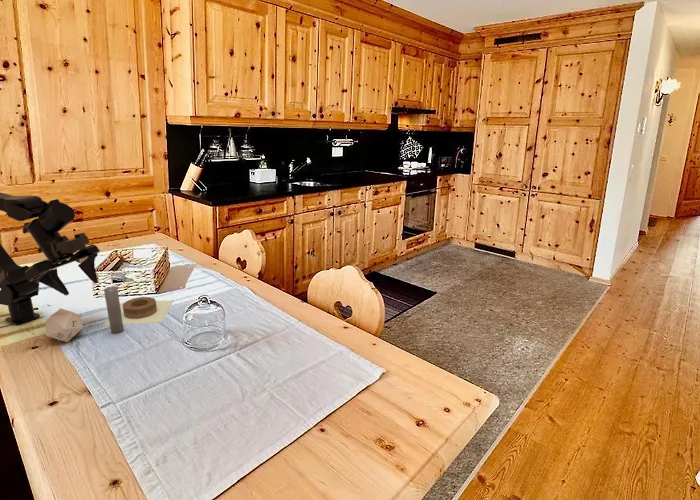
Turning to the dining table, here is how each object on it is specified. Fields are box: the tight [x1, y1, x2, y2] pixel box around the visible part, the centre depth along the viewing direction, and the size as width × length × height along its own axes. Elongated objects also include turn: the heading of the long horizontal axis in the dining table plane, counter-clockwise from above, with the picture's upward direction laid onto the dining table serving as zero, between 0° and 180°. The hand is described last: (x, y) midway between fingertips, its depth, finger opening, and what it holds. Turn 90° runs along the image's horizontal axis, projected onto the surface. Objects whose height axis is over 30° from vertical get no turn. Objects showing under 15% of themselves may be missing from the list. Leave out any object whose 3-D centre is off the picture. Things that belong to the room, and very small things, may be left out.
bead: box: [123, 296, 157, 319], centre depth 135 cm, size 9×9×3 cm
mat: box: [102, 299, 174, 327], centre depth 136 cm, size 16×16×1 cm
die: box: [44, 308, 84, 343], centre depth 120 cm, size 8×9×10 cm
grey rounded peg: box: [103, 286, 125, 335], centre depth 122 cm, size 3×3×13 cm
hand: (82, 288), depth 120 cm, fingers open, 9 cm apart
